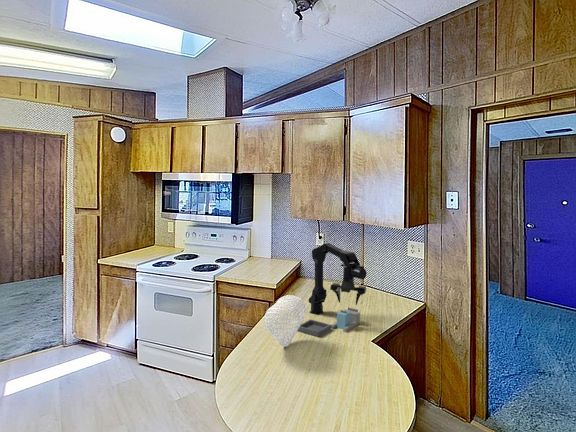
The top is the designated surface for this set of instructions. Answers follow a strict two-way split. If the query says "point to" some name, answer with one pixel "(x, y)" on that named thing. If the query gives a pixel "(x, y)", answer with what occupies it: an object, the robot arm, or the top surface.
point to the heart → (299, 320)
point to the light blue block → (343, 319)
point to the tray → (314, 328)
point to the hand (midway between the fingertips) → (347, 303)
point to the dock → (353, 319)
